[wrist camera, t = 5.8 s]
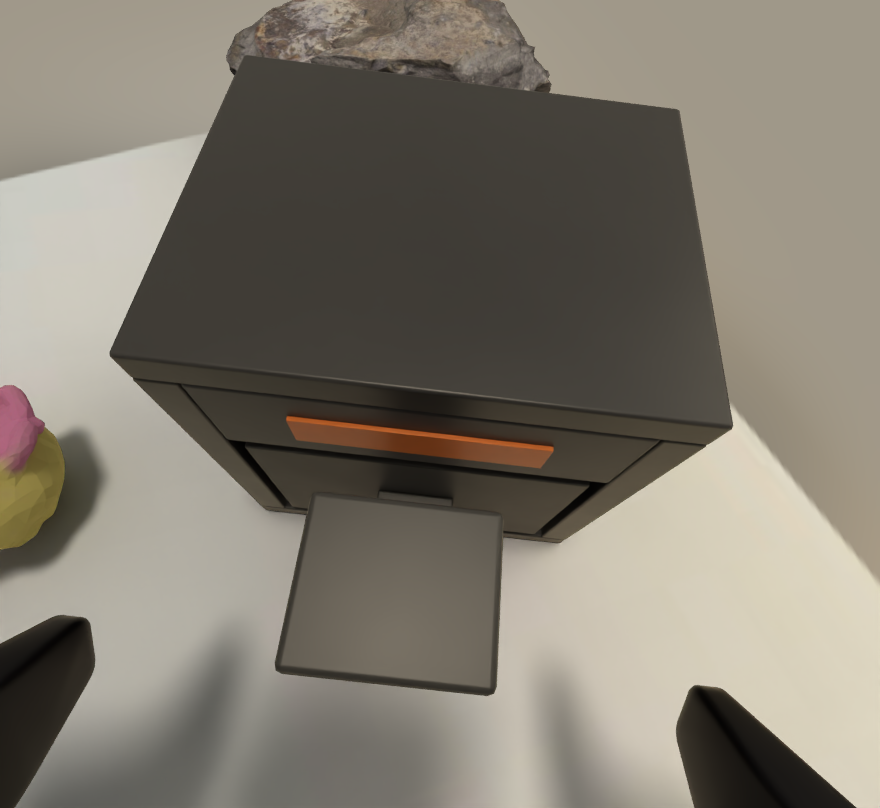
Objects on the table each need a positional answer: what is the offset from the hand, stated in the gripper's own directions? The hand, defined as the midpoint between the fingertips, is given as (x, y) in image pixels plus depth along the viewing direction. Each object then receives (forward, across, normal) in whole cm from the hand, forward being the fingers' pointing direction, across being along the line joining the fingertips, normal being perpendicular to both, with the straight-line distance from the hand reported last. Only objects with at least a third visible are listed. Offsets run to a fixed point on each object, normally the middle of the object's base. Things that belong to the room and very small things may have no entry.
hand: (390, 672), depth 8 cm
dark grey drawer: (+9, 0, +2) cm, 9 cm away
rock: (+22, +3, -9) cm, 24 cm away
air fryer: (+12, 0, 0) cm, 12 cm away
